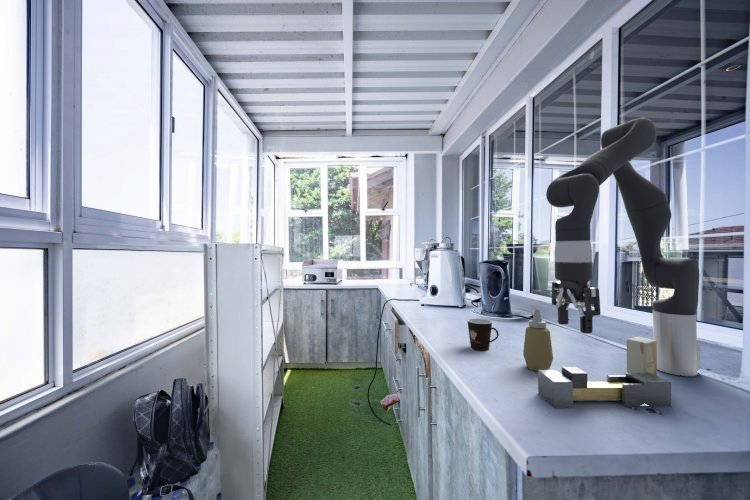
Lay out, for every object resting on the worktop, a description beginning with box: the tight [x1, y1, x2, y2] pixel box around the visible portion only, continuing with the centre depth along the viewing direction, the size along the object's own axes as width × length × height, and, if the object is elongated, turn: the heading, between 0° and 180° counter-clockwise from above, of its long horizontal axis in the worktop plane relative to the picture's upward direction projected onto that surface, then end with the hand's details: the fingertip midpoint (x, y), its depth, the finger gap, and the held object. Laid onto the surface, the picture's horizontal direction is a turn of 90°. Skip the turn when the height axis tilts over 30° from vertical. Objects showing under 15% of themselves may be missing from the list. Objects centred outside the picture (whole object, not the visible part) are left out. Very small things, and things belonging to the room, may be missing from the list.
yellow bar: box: [561, 366, 625, 401], centre depth 73 cm, size 18×4×6 cm, turn 89°
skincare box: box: [626, 336, 658, 376], centre depth 80 cm, size 6×4×12 cm
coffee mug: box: [466, 318, 500, 352], centre depth 111 cm, size 12×9×10 cm
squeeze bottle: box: [522, 308, 554, 372], centre depth 93 cm, size 8×8×18 cm
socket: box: [537, 369, 574, 409], centre depth 73 cm, size 4×7×6 cm, turn 179°
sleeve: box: [606, 372, 672, 407], centre depth 72 cm, size 10×5×6 cm, turn 89°
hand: (574, 328), depth 73 cm, fingers open, 8 cm apart
